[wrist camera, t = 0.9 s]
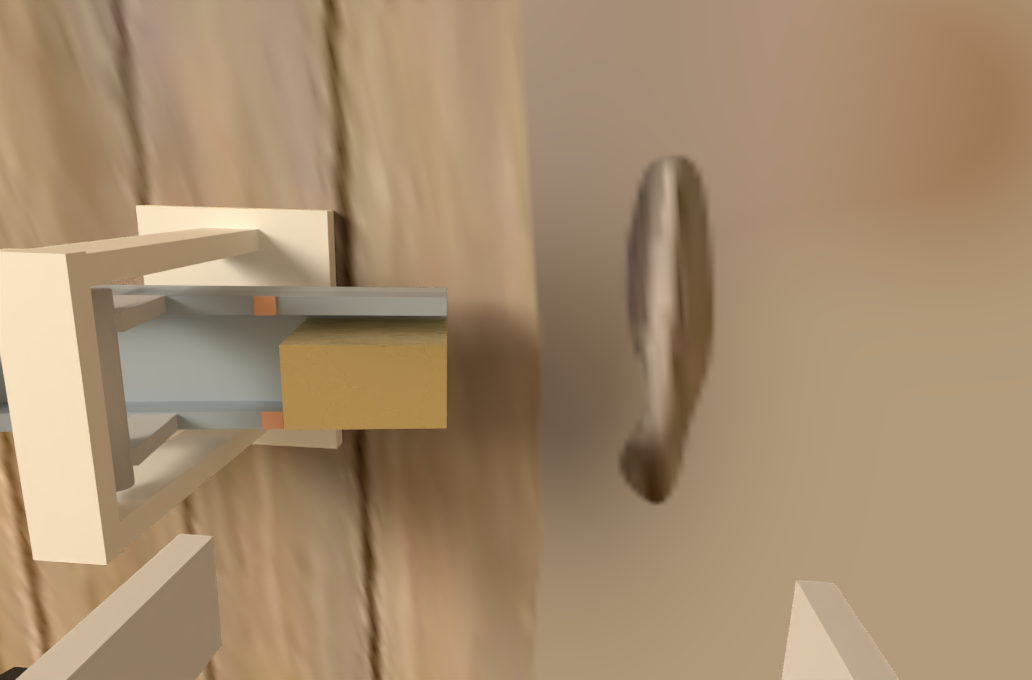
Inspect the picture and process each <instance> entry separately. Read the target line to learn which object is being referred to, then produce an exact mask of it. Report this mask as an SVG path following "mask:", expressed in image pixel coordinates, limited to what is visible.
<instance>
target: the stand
mask: <svg viewBox="0 0 1032 680" xmlns="http://www.w3.org/2000/svg"><path fill="white" fill-rule="evenodd" d="M136 211H137V220H138V230H139V236H131V237H123V238H114V239H106V240H97V241H89V242H81V243H72V244H64V245H56V246H47V247H39V248H31V249H8V248H7V249H0V356H1V362H2V368H3V374H4V381H5V387H6V393H7V399H8V405H9V412H10V418H11V424H12V430H13V436H14V442H15V449H16V455H17V461H18V467H19V473H20V479H21V486H22V492H23V498H24V504H25V510H26V516H27V523H28V529H29V535H30V541H31V547H32V553H33V560H41V561H56V562H70V563H85V564H99V565H107V564H109V563H110V562H111V561H112V560H114V559H115V558H116V557H117V556H118V555H120V554H121V553H122V552H123V551H124V548H125V547H126V546H128V545H129V544H130V543H131V542H132V541H134V540H135V539H136V538H137V537H139V536H140V535H141V534H142V533H143V532H145V531H146V530H147V529H148V528H150V527H151V526H152V525H153V524H154V523H156V522H157V521H158V520H159V519H161V518H162V517H163V516H164V515H165V514H167V513H168V512H169V511H170V510H172V509H173V508H174V507H175V506H176V505H178V504H179V503H180V502H181V501H183V500H184V499H185V498H186V497H187V496H189V495H190V494H191V493H192V492H194V491H195V490H196V489H197V488H198V487H200V486H201V485H202V484H203V483H205V482H206V481H207V480H208V479H209V478H211V477H212V476H213V475H214V474H216V473H217V472H218V471H219V470H220V469H222V468H223V467H224V466H225V465H227V464H228V463H229V462H230V461H231V460H233V459H234V458H235V457H236V456H238V455H239V454H240V453H241V452H242V451H244V450H245V449H246V448H247V447H249V446H250V445H251V444H257V445H276V446H294V447H312V448H331V449H337V448H338V447H339V446H340V445H341V444H342V430H284V429H181V430H177V431H176V432H175V433H174V434H173V435H172V436H170V437H169V438H168V439H167V440H168V441H167V442H165V443H164V444H162V445H161V446H159V447H158V448H157V449H156V450H155V451H154V452H153V453H152V454H151V455H150V456H148V457H147V458H146V459H145V460H144V461H143V462H142V463H141V464H140V465H139V466H133V470H134V478H135V484H134V485H133V486H132V487H130V488H128V489H126V490H123V491H119V492H116V486H115V478H114V470H113V462H112V454H111V446H110V438H109V430H108V422H107V414H106V406H105V398H104V390H103V383H102V375H101V367H100V359H99V351H98V343H97V335H96V327H95V319H94V311H93V303H92V295H91V287H93V286H97V285H102V284H107V283H111V282H116V281H121V280H125V279H130V278H135V277H139V276H144V285H194V286H303V287H336V264H335V239H334V213H333V210H304V209H269V208H234V207H198V206H163V205H138V206H136Z"/></svg>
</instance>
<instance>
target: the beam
mask: <svg viewBox="0 0 1032 680" xmlns="http://www.w3.org/2000/svg"><path fill="white" fill-rule="evenodd" d="M91 295H92V303H93V311H94V319H95V327H96V335H97V343H98V351H99V359H100V367H101V375H102V383H103V390H104V398H105V406H106V414H107V422H108V430H109V438H110V446H111V454H112V462H113V470H114V478H115V486H116V492H119V491H123V490H126V489H128V488H130V487H132V486H133V485H134V484H135V478H134V470H133V466H139V465H140V464H141V463H142V462H143V461H144V460H145V459H146V458H147V457H148V456H150V455H151V454H152V453H153V452H154V451H155V450H156V449H157V448H158V447H159V446H161V445H162V444H163V443H164V442H165V441H166V440H167V439H168V438H169V437H170V436H172V435H173V434H174V433H175V432H176V431H177V430H181V429H284V421H283V404H282V388H281V371H280V355H279V344H281V343H282V342H283V341H284V340H285V339H286V338H287V337H288V336H289V335H290V334H291V333H292V332H293V331H294V330H295V329H296V328H297V327H298V326H299V325H300V324H302V323H303V322H304V321H305V320H306V319H447V288H413V287H303V286H194V285H97V286H93V287H91ZM5 431H13V430H12V424H11V418H10V412H9V405H8V399H7V393H6V387H5V381H4V374H3V368H2V362H1V356H0V432H5Z"/></svg>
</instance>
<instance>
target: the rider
mask: <svg viewBox="0 0 1032 680" xmlns="http://www.w3.org/2000/svg"><path fill="white" fill-rule="evenodd" d="M279 355H280V371H281V388H282V404H283V421H284V430H348V429H434V428H447V319H306V320H305V321H304V322H303V323H302V324H300V325H299V326H298V327H297V328H296V329H295V330H294V331H293V332H292V333H291V334H290V335H289V336H288V337H287V338H286V339H285V340H284V341H283V342H282V343H281V344H279Z"/></svg>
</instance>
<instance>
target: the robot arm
mask: <svg viewBox="0 0 1032 680" xmlns="http://www.w3.org/2000/svg"><path fill="white" fill-rule="evenodd" d="M221 645H222V642H221V629H220V616H219V603H218V591H217V578H216V565H215V552H214V539H213V536H204V535H191V534H179V535H178V536H177V537H175V538H174V539H173V540H172V541H171V542H170V543H169V544H168V545H166V546H165V547H164V548H163V549H162V550H161V551H160V552H159V553H157V554H156V555H155V556H154V557H153V558H152V559H151V560H150V561H148V562H147V563H146V564H145V565H144V566H143V567H142V568H141V569H139V570H138V571H137V572H136V573H135V574H134V575H133V576H132V577H130V578H129V579H128V580H127V581H126V582H125V583H124V584H123V585H121V586H120V587H119V588H118V589H117V590H116V591H115V592H114V593H112V594H111V595H110V596H109V597H108V598H107V599H106V600H105V601H103V602H102V603H101V604H100V605H99V606H98V607H97V608H96V609H94V610H93V611H92V612H91V613H90V614H89V615H88V616H86V617H85V618H84V619H83V620H82V621H81V622H80V623H79V624H77V625H76V626H75V627H74V628H73V629H72V630H71V631H70V632H68V633H67V634H66V635H65V636H64V637H63V638H62V639H61V640H59V641H58V642H57V643H56V644H55V645H54V646H53V647H52V648H50V649H49V650H48V651H47V652H46V653H45V654H44V655H43V656H41V657H40V658H39V659H38V660H37V661H36V662H35V663H34V664H32V665H31V666H30V667H29V668H22V667H13V668H12V669H10V670H8V671H6V672H5V673H3V674H1V675H0V680H196V678H197V677H198V676H199V674H200V673H201V672H202V670H203V669H204V668H205V666H206V665H207V664H208V662H209V661H210V660H211V659H212V657H213V656H214V655H215V653H216V652H217V651H218V649H219V648H220V647H221ZM782 680H899V678H898V677H897V675H896V674H895V672H894V671H893V669H892V668H891V666H890V665H889V663H888V662H887V660H886V659H885V658H884V656H883V655H882V653H881V651H880V650H879V648H878V647H877V645H876V644H875V642H874V641H873V640H872V638H871V637H870V635H869V633H868V632H867V630H866V629H865V627H864V626H863V624H862V623H861V621H860V620H859V618H858V617H857V615H856V614H855V612H854V611H853V609H852V608H851V606H850V605H849V604H848V602H847V601H846V599H845V598H844V596H843V595H842V593H841V592H840V590H839V589H838V587H837V586H836V584H835V583H832V582H819V581H805V580H796V586H795V593H794V599H793V606H792V613H791V620H790V626H789V633H788V641H787V647H786V654H785V660H784V667H783V674H782Z"/></svg>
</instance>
